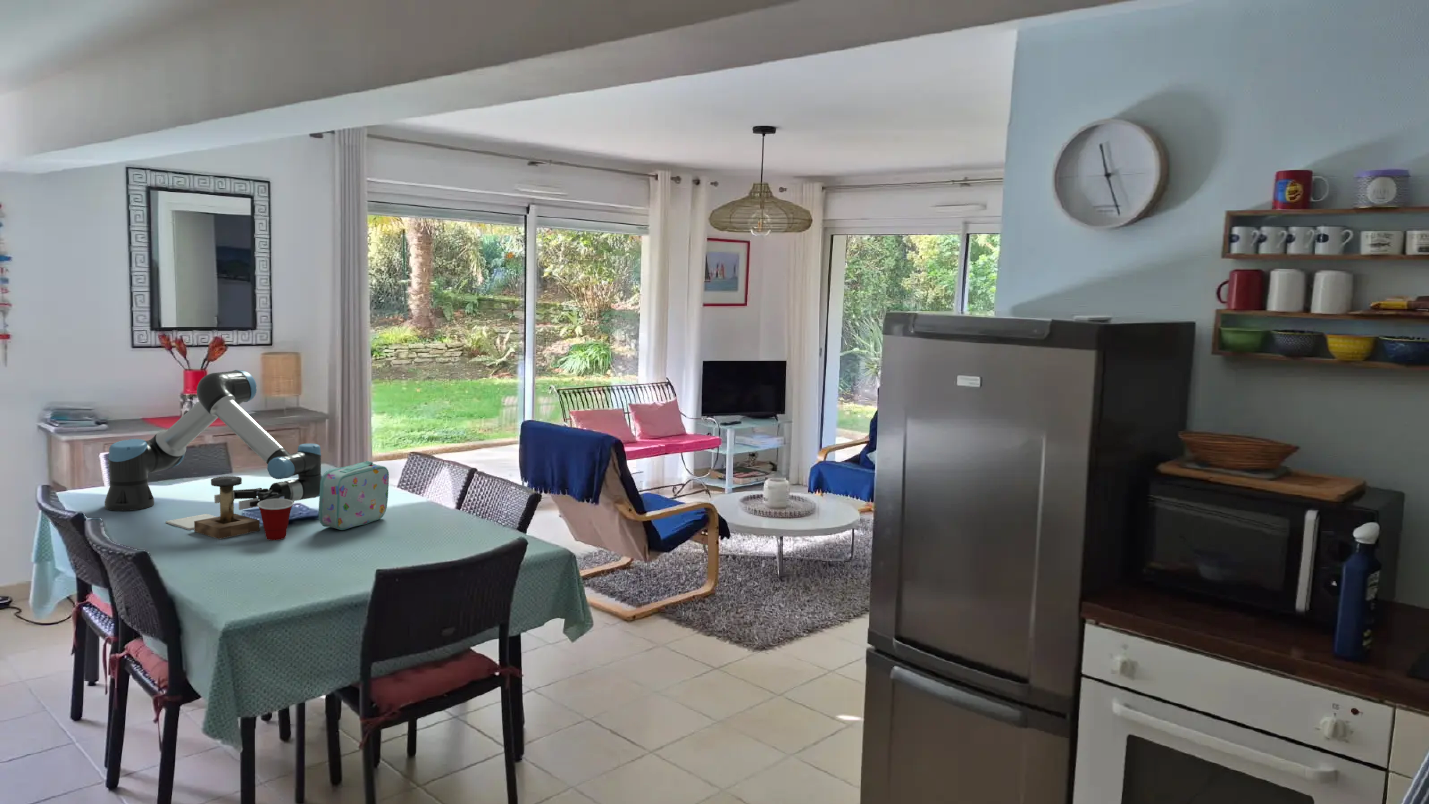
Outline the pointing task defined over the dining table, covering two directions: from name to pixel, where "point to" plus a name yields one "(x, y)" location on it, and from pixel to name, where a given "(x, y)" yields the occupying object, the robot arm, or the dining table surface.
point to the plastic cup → (275, 517)
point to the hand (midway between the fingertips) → (227, 502)
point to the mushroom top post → (226, 496)
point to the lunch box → (353, 495)
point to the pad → (189, 521)
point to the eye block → (226, 526)
